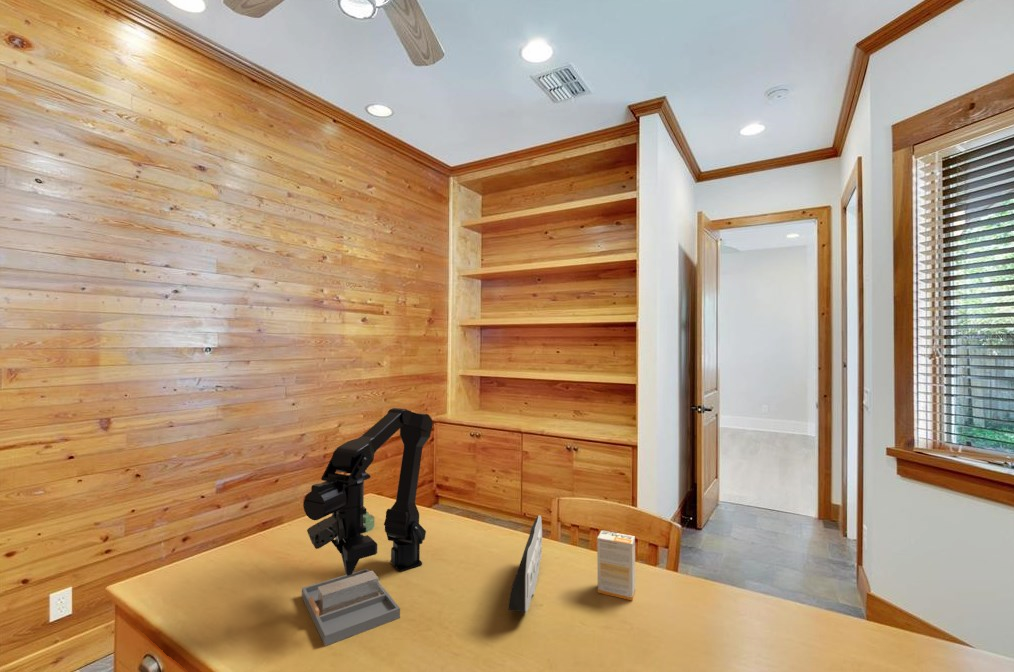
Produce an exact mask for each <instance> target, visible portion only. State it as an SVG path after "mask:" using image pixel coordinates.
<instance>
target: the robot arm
mask: <svg viewBox="0 0 1014 672" xmlns="http://www.w3.org/2000/svg"><path fill="white" fill-rule="evenodd" d="M433 427H434V421H433V419H432V417H431V416H430V415H429V414H428V413H422V412H421V413H420V412H419V413H418V412H414V411H410V410H409V409H407V408H400V407H399V408H398V407H393V408H390V409H389V410H388V411H387V414H385V415H384V416H383V417H382V418H380V420H378V421H377V422H376V423H374V425H373V426H371V427H370V428H369V429H368V430H367V431H365V432H364V433H363V434H362V435H361V436H359V437H357V438H354V439H351V440H348V441H346V442H345V443H343V444H341V445H340V446H337V447H336V448H335V450H334V451H333V452H332V456H331V458H330V459H329V462H328V464H327V466H326V467H325V470H324V473H323V474H322V476H321V477H320V480H321V481H323V482H320V483H314V484H313V485H311V489H310V491H309V492H308V493H307V494H306V495H305V497H304V500H303V502H302V503H303V511H304V513H305V515H306V517H308V518H309V519H310V520H311V521H318V520H320V521H318V522H317V523H315V524H313V525H312V526H309V528H307V529H306V532H307V534H308V537H309V539H310V541H311V545H313V547H314V549H315V550H319V549H322V548H323V547H324V546H325V545H327V544H329V543H332V544H333V546H334V547H335V548H336V550H337V551H338V552H339V553H340V556H341V559H342V563H343V567H344V571H345V575H347V576H349V575H352V573H354V572H355V569H356V567H357V565H358V562H359V561H360V560H361V559H364V558H368V557H372V556H376V555H377V554H378V543H377V542H376V540H375V539H373V538H372V537H371V536H370V535H369V534H367V535H364V534H365V533H364V532H366V527H365V526H364V525H363V514H366V511H367V508H366V507H365V505H364V496H365V495H364V494H365V492H364V490H365V489H364V488H365V487H364V486H365V481H366V480H369V479H371V475H370V474H369V473H368V472H366V471H367V469H368V468H369V467H370V465H371V464H372V463H373V461H374V458H375V454H376V452H377V451H378V450H379V449H380V448H381V447H382V446H383V445H384V444H385V443H386V442H388V441H389V440H390V438H391V437H393V436H394V434H396V433H397V431H398V430H399V436H400V438H401V439H400V440H401V441H402V444H403V451H402V458H401V464H400V470H399V479H398V484H397V485H398V486H397V490H396V498H395V502H394V504H393V505H392V506H391V508H387V509H386V511H385V520H384V523H383V526H384V532H385V534H386V538H387V541H389V542H390V541H391V542H392V546H391V549H390V550H391V551H390V561H389V562H390V563H391V564H392V566H393V567H394V568H395V569H396V570H397V571H398V572H404V571H406V570H410V569H414V568H417V567H420V566H422V565H423V562H422V561H421V558H420V557H421V556H420V554H421V553H420V552H421V549H420V547H421V545H422V544H424V543H423V541H424V540H425V539H426V533H427V531H426V529H424V527H423V526H422V525H421V524H420V512H419V509H418V507H417V505H416V498H417V497H416V496H417V492H418V491H417V490H418V483H419V475H420V468H421V461H422V456H423V455H422V453H423V449H424V446H425V445H426V443H427V442H428V441H429V439H430V437H431V433H432V430H433ZM336 472H339V473H336ZM343 473H344V474H343ZM329 515H331V516H329ZM325 517H326V518H325ZM321 519H322V520H321ZM360 533H362V534H360ZM366 533H367V532H366Z"/></svg>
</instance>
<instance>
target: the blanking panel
mask: <svg viewBox="0 0 1014 672" xmlns="http://www.w3.org/2000/svg"><path fill="white" fill-rule="evenodd" d="M379 578H380V577H379V576H377V574H376V573H375V572H374V570H373V569H372V570H369V572H366V573H362V574H359V575H356V576H352V577H349V578H346V579H343V580H339V581H336V582H333V583H329V584H326V585H323V586H320V587H318V609H319V611H320V613H321V615H323V614H326V613H329V612H332V611H335V610H338V609H341V608H344V607H347V606H350V605H353V604H356V603H359V602H362V601H365V600H367V599H370V598H373V597H376V596H378V593H379V583H380V581H379V580H380V579H379Z"/></svg>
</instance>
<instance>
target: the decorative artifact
mask: <svg viewBox="0 0 1014 672" xmlns="http://www.w3.org/2000/svg"><path fill="white" fill-rule="evenodd" d="M375 518H376V517H375V516H374V515H373V514H370V513H369V511H367V510H366V514H363V525H364V526H365V527H366V532H364V533H360V534H365V533H368V532H371V531H372V530H374V528H375V521H376V520H375Z"/></svg>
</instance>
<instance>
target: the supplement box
mask: <svg viewBox="0 0 1014 672" xmlns="http://www.w3.org/2000/svg"><path fill="white" fill-rule="evenodd" d="M635 537H636V536H635V535H629V534H625V533H624V534H623V533H617V532H612V531H608V530H600V533H598V536H597V537H596V540H597V541H596V542H597V543H596V544H597V552H596V553H597V554H596V555H597V559H596V560H597V561H596V562H597V593H599V594H603V595H607V596H612V597H616V598H619V599H620V598H621V599H625V600H628V601H633V599H634V596H635V593H636V538H635Z"/></svg>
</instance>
